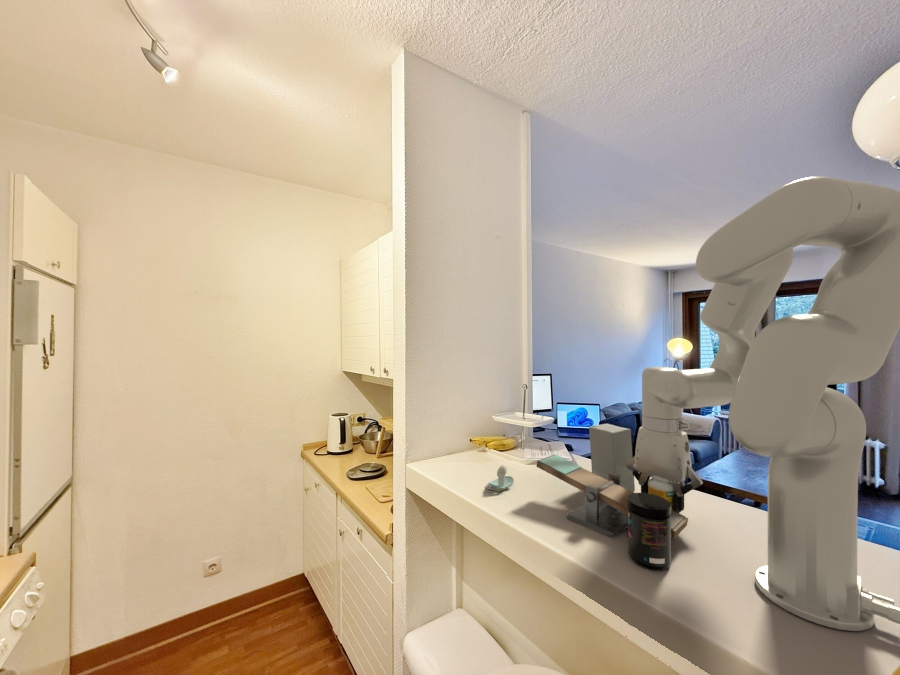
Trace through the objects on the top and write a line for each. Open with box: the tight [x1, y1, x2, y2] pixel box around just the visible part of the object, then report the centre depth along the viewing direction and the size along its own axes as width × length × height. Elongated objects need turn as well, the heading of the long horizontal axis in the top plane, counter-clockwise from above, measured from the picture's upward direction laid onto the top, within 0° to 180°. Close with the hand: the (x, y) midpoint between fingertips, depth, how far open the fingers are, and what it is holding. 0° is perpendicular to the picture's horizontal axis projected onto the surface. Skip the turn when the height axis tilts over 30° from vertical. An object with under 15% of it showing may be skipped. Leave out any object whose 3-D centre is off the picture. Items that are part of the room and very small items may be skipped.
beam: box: [536, 454, 689, 540], centre depth 80 cm, size 30×9×2 cm, turn 41°
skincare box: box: [588, 423, 636, 493], centre depth 95 cm, size 8×7×16 cm
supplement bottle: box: [648, 476, 675, 510], centre depth 80 cm, size 5×5×10 cm
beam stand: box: [566, 473, 628, 539], centre depth 80 cm, size 10×13×8 cm
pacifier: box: [485, 464, 515, 492], centre depth 96 cm, size 7×6×6 cm
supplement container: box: [627, 492, 672, 571], centre depth 65 cm, size 7×7×10 cm
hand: (661, 506), depth 80 cm, fingers closed on supplement bottle, 5 cm apart
